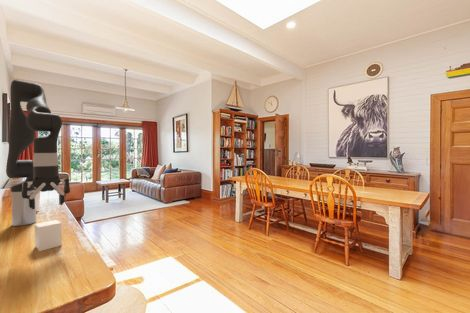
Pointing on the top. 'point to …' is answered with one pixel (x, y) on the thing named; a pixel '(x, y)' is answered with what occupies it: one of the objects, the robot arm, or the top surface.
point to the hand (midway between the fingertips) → (47, 206)
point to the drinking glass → (37, 201)
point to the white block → (48, 235)
